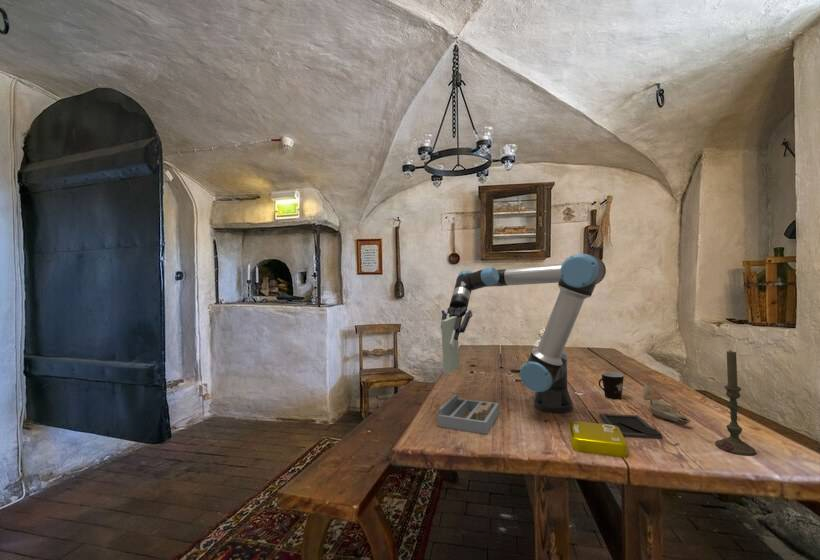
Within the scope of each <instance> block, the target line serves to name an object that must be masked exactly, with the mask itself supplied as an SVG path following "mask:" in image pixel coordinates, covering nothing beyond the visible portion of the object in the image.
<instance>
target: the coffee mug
mask: <svg viewBox="0 0 820 560" xmlns="http://www.w3.org/2000/svg"><path fill="white" fill-rule="evenodd" d="M624 378H625V377H624V374H622V373H620V372H613V371H611V372H610V371H605V372H604V371H603V372H601V378H600V379H599V380H598V387H599V388H600V389H601V390H602V391H603V393H604V397H605V398H607V399H609V400H621V399H622V398H623V397H622V396H623V387H624ZM601 382H602V384H603V385H602V386H603V387H602V386H601Z"/></svg>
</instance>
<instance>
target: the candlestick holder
mask: <svg viewBox="0 0 820 560" xmlns="http://www.w3.org/2000/svg"><path fill="white" fill-rule="evenodd" d="M737 360H738V359H737V352H736V351H732V350H731V349H729V350H727V351H726V366H727V367H726V368H727V369H726V370H727V371H726V372H727V385H724V389H725V390H726V391H725V395H726V397H728V398H729V404H728V408H729V410H730V411H729V413H730V416H729V417H730V423H728V424H727V425H726V429H727V431H728V433H729V437H724V438H722V439H718V440H716V441H715V445H714V446H716V447H717V448H718V449H719V450H722V451H724V452H727V453H730V454H734V455H738V456H744V457H745V456H754V455H756V454H757V450H756V449H755V448H754V447H752V446H751V445H749V444H748V443H746V442H745V441H743V440H742V439H741V438H740V435H741V434H742V431H743V428H742V427H741V426H740V425H739V423H738V409H739V405H738V401H737V399H740V397H741V394H740V392H741V391H742V388H741V387H740V386H738V367H737Z"/></svg>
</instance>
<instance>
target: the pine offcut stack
mask: <svg viewBox="0 0 820 560" xmlns="http://www.w3.org/2000/svg"><path fill="white" fill-rule="evenodd" d="M490 411H491V403H487V404H486V405H485V406H483V405H480V406H479V408H478V409H477V410H476V411H475V413H474V420H480V421H484V420H485V418H486V417H487V415H488V414H489V412H490Z"/></svg>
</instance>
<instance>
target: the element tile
mask: <svg viewBox="0 0 820 560" xmlns="http://www.w3.org/2000/svg"><path fill="white" fill-rule="evenodd" d="M568 432H569V433H568V434H569V439H570V446H571V449H572V450H573V451H575V452H579V453H584V454H586V453H587V454H593V455H599V456H607V457H608V456H609V457H615V458H626V457H628V446H627V445H628V442H627V441H626V439H625V438H626V437H624V436H623V435H622V433H621V431H620V429H619V427H617V426H616V425H609V424H606V423H597V422H590V421H589V422H588V421H578V420H571V421H569V422H568Z"/></svg>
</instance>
